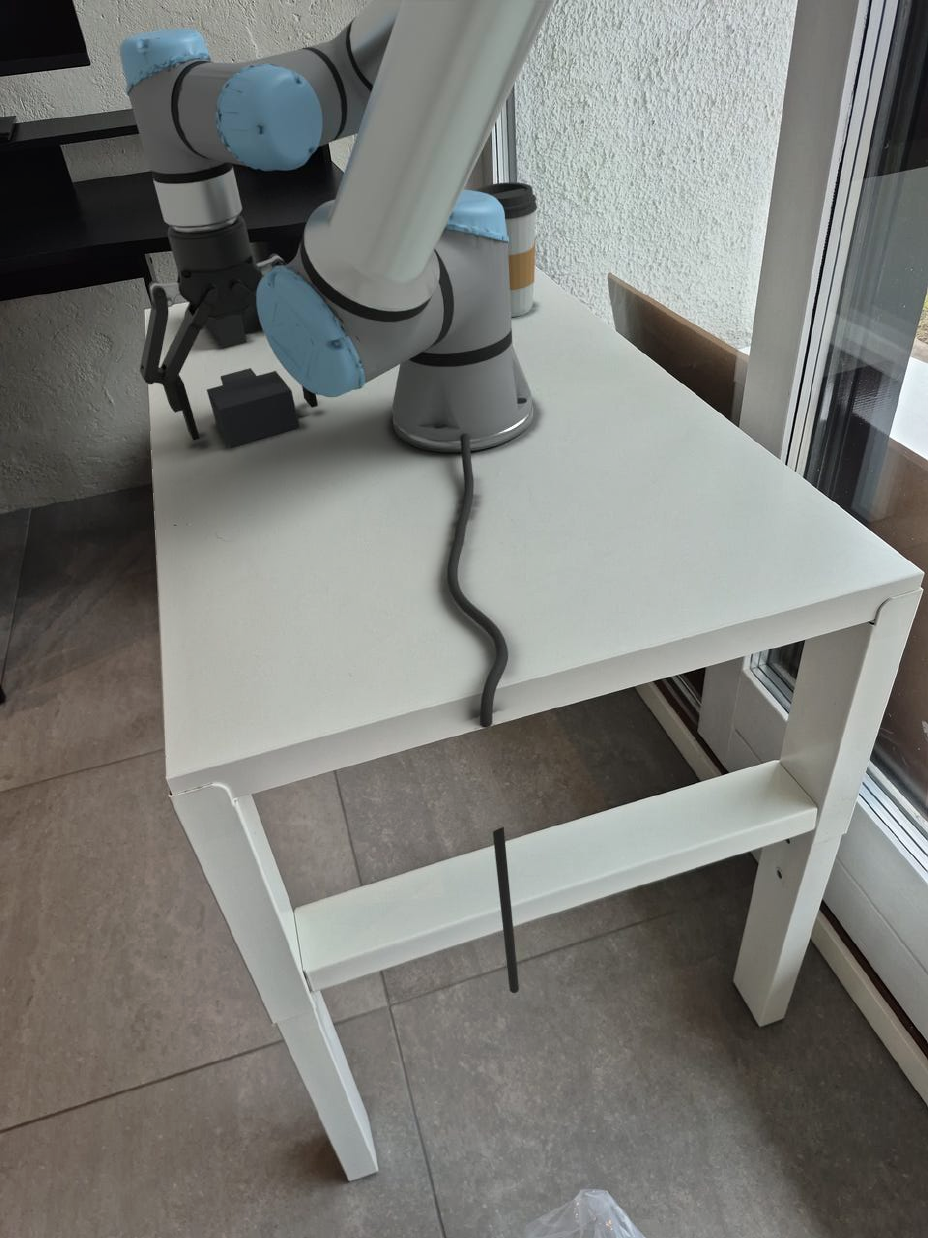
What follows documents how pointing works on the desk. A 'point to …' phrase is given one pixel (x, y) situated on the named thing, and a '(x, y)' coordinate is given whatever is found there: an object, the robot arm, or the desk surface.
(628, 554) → the desk surface
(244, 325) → the notched pad
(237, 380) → the pad
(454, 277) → the robot arm
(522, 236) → the coffee cup
